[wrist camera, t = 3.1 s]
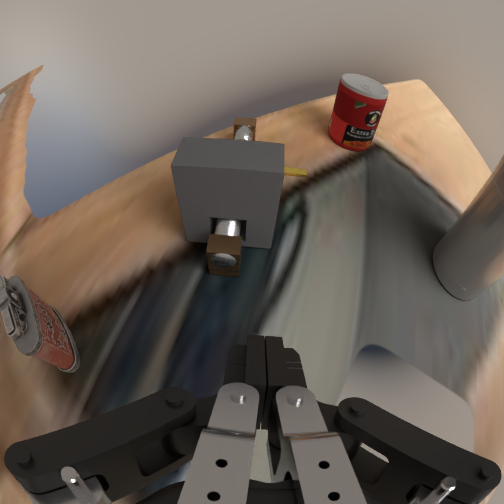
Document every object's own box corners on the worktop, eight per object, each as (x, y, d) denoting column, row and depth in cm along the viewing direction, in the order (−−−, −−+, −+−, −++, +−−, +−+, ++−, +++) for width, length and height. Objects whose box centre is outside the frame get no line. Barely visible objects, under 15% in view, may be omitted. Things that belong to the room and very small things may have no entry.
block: (270, 248, 30) (284, 173, 22) (187, 241, 30) (170, 165, 22) (272, 219, 33) (284, 143, 24) (194, 213, 33) (183, 137, 24)
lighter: (37, 318, 24) (-18, 275, 16) (57, 302, 26) (5, 253, 17) (64, 379, 21) (-1, 352, 13) (86, 362, 23) (25, 328, 14)
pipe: (312, 283, 29) (323, 262, 25) (141, 266, 29) (129, 244, 25) (303, 146, 41) (308, 124, 38) (187, 138, 41) (184, 116, 38)
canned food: (342, 154, 41) (361, 94, 32) (318, 126, 45) (331, 71, 36) (378, 151, 43) (399, 97, 34) (353, 125, 47) (368, 74, 38)
